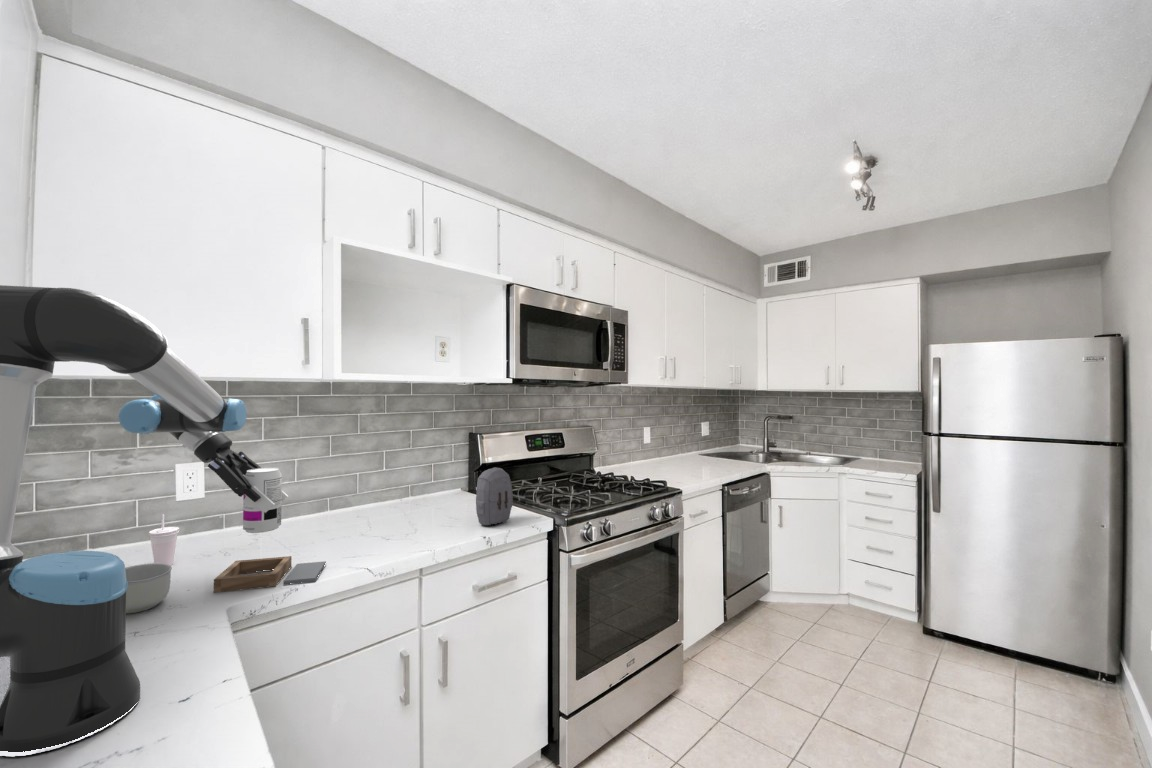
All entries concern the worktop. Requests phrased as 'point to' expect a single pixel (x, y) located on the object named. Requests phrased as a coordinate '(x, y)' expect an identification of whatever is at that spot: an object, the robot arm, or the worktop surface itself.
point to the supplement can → (272, 488)
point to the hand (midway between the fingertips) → (277, 504)
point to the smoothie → (164, 543)
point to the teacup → (146, 585)
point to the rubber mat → (304, 572)
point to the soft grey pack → (493, 496)
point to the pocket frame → (234, 581)
